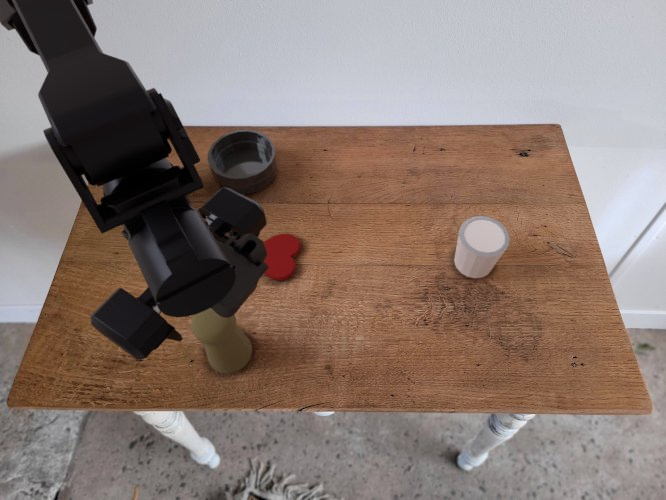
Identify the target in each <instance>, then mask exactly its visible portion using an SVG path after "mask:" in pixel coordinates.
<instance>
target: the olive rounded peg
mask: <svg viewBox="0 0 666 500" xmlns="http://www.w3.org/2000/svg"><path fill="white" fill-rule="evenodd" d="M190 325H191V326H190V328H191V331H192V334H193V335H194V337H195V339H197V340H198V342H200V343H201V344H203V347H204V350H205V354H206V357H207V360H208V364H209V365H210V366H211V368H212V369H213V370H214V371H216V372H218V373H221V374H225V375H227V374H234V373H236V372H238V371H241V370H242V369H243V368H244V367H246V366H247V364H248V363H249V362H250V361H251V357H252V354H253V345H252V342H251V340H250V339H249V337H247V335H246V334H245V333H244V332H243V331H242V329H240V327H239V326H238V325H237V318H236V314H234V315H233V316H231V317H228V318H224V317H221V316H220V315H218V314H217V313H216V312H215V311H214V310H213V309H211V308H209V309H207V310H205V311H203V312H200V313H198V314H195V315H192V318H191V324H190Z"/></svg>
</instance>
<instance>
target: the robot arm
mask: <svg viewBox="0 0 666 500" xmlns="http://www.w3.org/2000/svg"><path fill="white" fill-rule="evenodd" d="M93 4H94V1H93V0H0V25H1V26H2V27H3V28H4V29H6V30H7V31H8V32H9V31H12V30H15V31H16V33H17V34H18V36H19V37H20V39H21V41H22V43H24V45H25V46H26V48H27V49H28V51H29V52H30V53H32V54H35V55H37V56H39V58H40V60H41V61H42V63H43V66H44V68H45V70H46V73H47V74H46V76H45V78H44V80H43V82H42V84H41V87H40V89H39V91H38V93H37V96H38V99H39V101H40V104H41V106H42V108H43V111H44V113H45V115H46V118H47V120H48V122H49V125H50V127H47V128H45V129H43V131H42V132H43V135H44V137H45V139H46V141H47V144H48V145H49V148H50V149H51V150H52V152H53V154H54V156H55V158H56V159H57V161H58V162H59V165H60V166H61V168H62V170H63V171H64V173H65V175H66V176H67V178H68V179H69V181H70V184H71V185H72V186H73V188H74V190H75V192H76V193H77V195H78V196H79V199H80V200H81V202H82V203H83V205H84V207H85V208H86V210H87V211H88V213H89V215H90V217H91V219H92V220H93V222H94V223H95V225H96V227H97V228H98V230H99V232H100V234H105V233H107V232H109V231H111V230H113V229H116V228H118V227H120V226H122V228H123V230H122V231H121V234H122V236H123V237H124V239H125V240H127V241H128V246H129V248H130V250H131V252H132V255H133V257H134V260H135V261H136V263H137V265H138V268H139V270H140V272H141V274H142V276H143V278H144V280H145V283H146V285H147V288H146V289H145V290H144V291H143V292H142V293H141V294H140V295H139V296H138V297H136V296H134V295H133V294H131V293H130V292H128V291H127V290H125V289H124V288H123V287H118V288H117V289H116V290H114V291H113V292H112V293H111V294H110V296H109V297H108V298H107V299H106V300H105V301H103V303H102V304H101V305H99V306H98V307H97V308H96V309H95V310H94V312H92V313H91V314H90V325H91V326H92V327H93V328H94V329H95V330H96V331H97V332H98V333H100V334H101V335H102V336H104V337H105V338H106V339H108V340H109V341H111V342H112V343H113V344H114V345H116V346H117V347H119V348H120V349H122V350H123V351H124V352H126V353H127V354H128V355H129V356H131V357H132V358H133V359H135V360H136V361H138V360H144V359H147V358H148V357H149V355H150V354H151V353H152V352H153V351H157V349H159V347H160V346H161V345H162V344H163V343H164V342H165V341H166V340H171V341H176V342H181V343H182V341H183V340H184V338H183V336H182V334H181V333H180V332H179V331H178V330H176V327H175V326H174V325H172V324H170V323H169V322H168V321H167V320H166V319H165V318H164V317H163V316H162V315H161V314H163V315H165V316H167V317H170V318H184V317H185V318H186V317H190V316H193V315H195V314H198V313H200V312H203V311H205V310H207V309H209V308H211V309H213V310H214V311H215V312H216V313H217V314H218V315H220V316H221V317H224V318H228V317H231V316H233V315H236V313H237V312H238V311H239V310H240V308H241V307H242V306H243V305H244V303H245V302H246V301H247V300H248V299H249V297H250V296H251V295H252V294H254V292H255V291H256V289H257V286H258V284H259V281H260V279H262V277H263V276H264V275H265V274H264V273H265V272H266V270H267V269H268V268H269V267H268V265H267V264H266V263H265V262H264V260H265V259H266V257H267V250H266V248H265V245H264V243H263V242H264V240H262V239H261V238H260V237H259V236H260V234H261V232H262V231H263V229H264V228H265V227H266V226H267V224H268V221H267V217H266V211H265V209H264V208H263V207H262V205H261V204H260V203H259V202H257V201H255V200H254V199H252V198H249V197H248V196H245V194H240V193H238V192H236V191H234V190H232V189H230V188H225V187H223V188H221V187H220V188H219V189H217V190H216V192H215V193H214V194H212V196H210V198H208V199H207V201H205V202H204V203H203V204H202V205H201V206H200V207H199V208H198V209H197V208H196V207H195V206H193V205H192V202H191V201H190V199H189V196H188V195H190V194H192V193H195V192H196V191H197V192H198V191H199V190H201V189H203V188H205V184H204V182H203V180H202V178H201V176H200V174H199V172H198V170H197V168H196V164H198V163H200V162H201V158H200V156H199V155H198V152H197V150H196V149H195V147H194V145H193V142H192V140H191V139H190V136H189V134H188V132H187V131H186V128H185V127H184V125H183V122H182V121H181V118H180V117H179V115H178V112H177V111H176V109H175V107H174V105H173V103H172V101H171V100H169V99H166V98H164V96H163V94H162V93H161V92H158V90H157V89H156V88H155V87H152V88H150V89H147V88H145V86H144V84H143V83H142V81H141V79H140V77H138V75H137V73H136V72H135V70H134V68H133V67H132V65H131V64H130V63H129V62H128V61H127V60H123V59H121V58H118V57H116V56H113V55H109V54H106V53H104V51H103V50H102V49H101V47H100V45H99V44H98V42H97V40H96V34H97V30H98V28H97V25H96V22H95V21H94V18H93V16H92V13H91V12H90V8H89V7H88V6H89V5H93ZM170 143H171V144H170ZM171 145H172V146H171ZM172 147H173V148H172ZM173 149H174V151H175V153H176V155H177V157H178V158H179V160H180V162H181V164H182V166H183V167H180V166H179V165H174V164H173V163H171V162H170V161H169V160H168V159H167V158H169V157H170V154H172V151H173ZM83 176H84V177H83ZM84 178H85V179H86V180H85V179H84ZM87 182H88V184H89V185H90V186H92V187H96V186H97V187H98V188H99V187H102V195H103V196H102V197H101V198H100V203H97V201H96V199H95V197H94V196H93V193H92V191H91V190H90V188H89V186H88V185H87Z"/></svg>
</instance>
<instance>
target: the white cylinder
mask: <svg viewBox="0 0 666 500" xmlns="http://www.w3.org/2000/svg"><path fill="white" fill-rule="evenodd" d="M510 237H511V236H510V234H509V232H508V229H507V228H506V227H505V226H504V224H502V222H500V221H499V220H496V219H495V218H492V217H491V216H485V215H477V216H472V217H469V218H468V219H466V220H464V221H463V223H462V224H461V225H460V227H459V231H458V235H457V241H456V248H455V252H454V261H453V263H454V265H455V268H456V269H457V271H458V272H459V273H460V274H462V275H464V276H465V277H467V278H471V279H482V278H484V277H486V276H487V275H489V274H490V273H491V272H492V270H493V268H494V267H495V266H496V264H497V263H498V261H499V260H500V259H501V258H502V256H503V255H504V253H505V252H506V250H507V248H508V247H509V245H510V240H511V239H510Z"/></svg>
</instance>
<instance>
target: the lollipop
mask: <svg viewBox="0 0 666 500" xmlns="http://www.w3.org/2000/svg"><path fill="white" fill-rule="evenodd" d="M263 243H264V245H265V248H266V250H267V257H266V259H265V260H264V262H265V263H266V264H267V265H268V267H269V268H268V269H267V270H266V272H265V273H264V274H263V275H265V276H266V277H268V278H269V279H271V280H274V281H286V280H288V279H290V278H291V277H292V276H293V275H294V274H295V272H296V269H297V263H296V260H295V259H294V258H295V257H296V256H297V255H299V253H300V252H301V251H300V250H301V248H302V247H301V242H300V239H299V238H298V237H297V236H295V235H294V234H291V233H281V234H277V235H274V236H271V237H270V238H268V239H266V240H263Z"/></svg>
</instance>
